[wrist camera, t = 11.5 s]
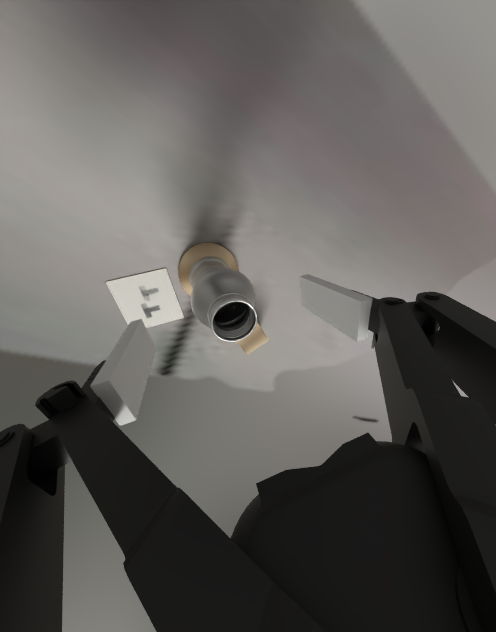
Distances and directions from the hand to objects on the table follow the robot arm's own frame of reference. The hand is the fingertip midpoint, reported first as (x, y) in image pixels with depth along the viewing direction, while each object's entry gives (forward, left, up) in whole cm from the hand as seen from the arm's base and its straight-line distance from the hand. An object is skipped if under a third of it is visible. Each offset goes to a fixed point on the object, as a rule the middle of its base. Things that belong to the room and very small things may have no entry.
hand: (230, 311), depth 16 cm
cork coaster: (0, 0, -19) cm, 19 cm away
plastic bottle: (0, 0, -19) cm, 19 cm away
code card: (+2, -11, -19) cm, 22 cm away
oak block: (+12, +4, -19) cm, 23 cm away
